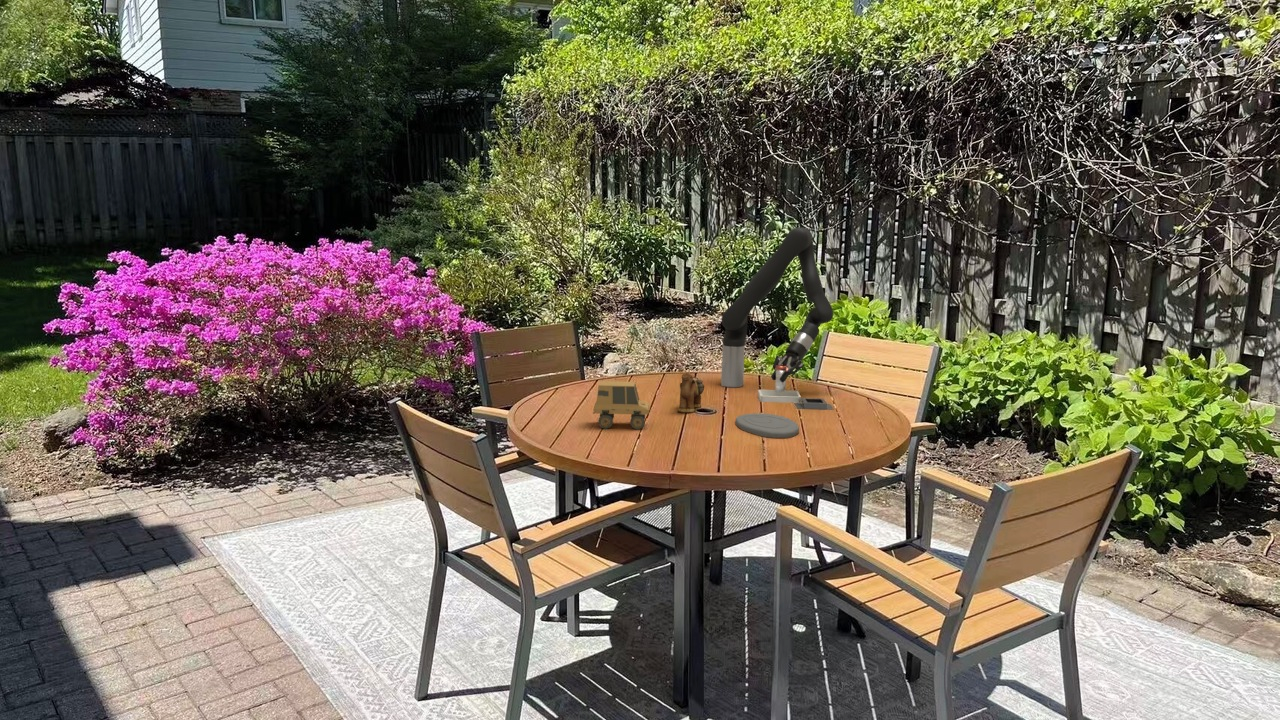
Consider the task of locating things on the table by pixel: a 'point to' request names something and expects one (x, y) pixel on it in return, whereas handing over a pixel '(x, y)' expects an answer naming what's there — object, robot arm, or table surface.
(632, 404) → the toy car
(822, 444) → the table surface
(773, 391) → the tray
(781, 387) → the pin
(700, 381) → the figurine
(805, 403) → the hitch
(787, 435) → the frisbee
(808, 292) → the robot arm
